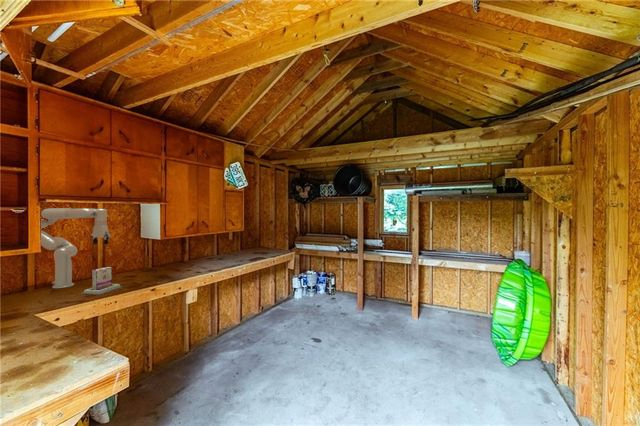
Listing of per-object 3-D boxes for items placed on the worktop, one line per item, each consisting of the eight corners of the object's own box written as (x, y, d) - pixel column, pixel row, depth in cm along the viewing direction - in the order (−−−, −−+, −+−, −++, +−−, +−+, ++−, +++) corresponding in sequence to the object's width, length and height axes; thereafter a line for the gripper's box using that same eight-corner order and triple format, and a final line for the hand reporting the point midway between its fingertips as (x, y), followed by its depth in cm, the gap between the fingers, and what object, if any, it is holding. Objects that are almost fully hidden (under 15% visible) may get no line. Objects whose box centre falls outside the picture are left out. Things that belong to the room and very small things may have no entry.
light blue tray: (83, 293, 192) (83, 290, 192) (105, 285, 210) (106, 283, 210) (98, 293, 191) (98, 291, 191) (119, 286, 209) (119, 284, 209)
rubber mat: (80, 294, 191) (80, 293, 191) (104, 286, 211) (104, 285, 211) (100, 295, 190) (100, 294, 190) (123, 287, 210) (123, 286, 210)
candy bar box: (107, 287, 207) (107, 266, 206) (112, 287, 205) (112, 267, 205) (91, 291, 196) (91, 269, 196) (96, 292, 194) (96, 270, 194)
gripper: (87, 223, 213) (86, 244, 213) (106, 224, 212) (106, 245, 212) (95, 223, 221) (95, 243, 221) (114, 223, 219) (114, 243, 219)
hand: (100, 244), depth 216 cm, fingers open, 9 cm apart
